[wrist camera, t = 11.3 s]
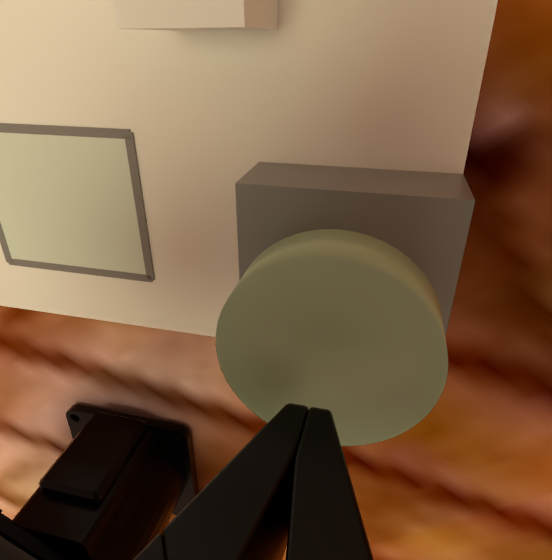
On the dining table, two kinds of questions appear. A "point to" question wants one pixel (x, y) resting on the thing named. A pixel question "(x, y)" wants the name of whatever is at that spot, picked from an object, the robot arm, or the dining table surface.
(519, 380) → the dining table surface
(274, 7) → the marker
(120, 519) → the robot arm
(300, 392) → the button
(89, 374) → the dining table surface
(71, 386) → the dining table surface
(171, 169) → the picture board
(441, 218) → the button housing
